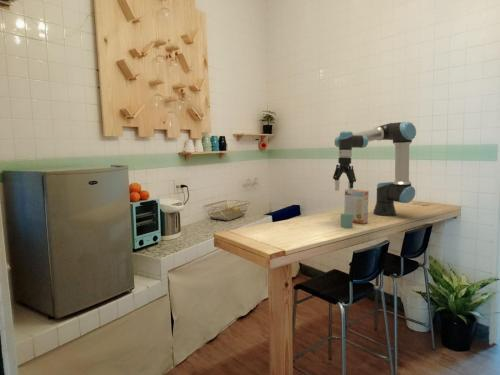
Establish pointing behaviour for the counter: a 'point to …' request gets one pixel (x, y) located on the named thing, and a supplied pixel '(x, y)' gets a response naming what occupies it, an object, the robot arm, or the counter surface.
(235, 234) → the counter surface
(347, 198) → the cracker box
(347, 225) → the teal block
